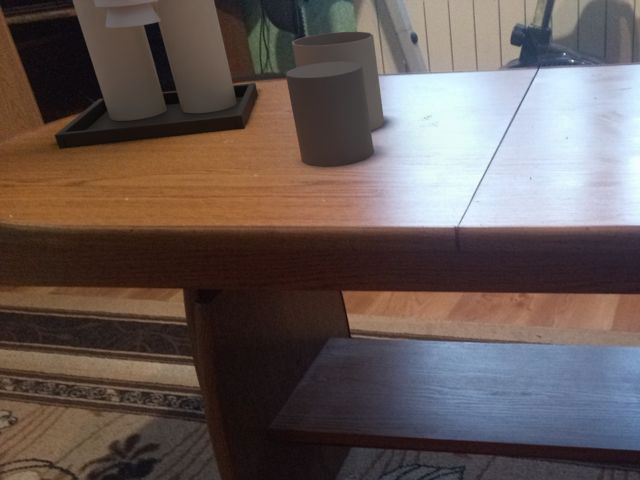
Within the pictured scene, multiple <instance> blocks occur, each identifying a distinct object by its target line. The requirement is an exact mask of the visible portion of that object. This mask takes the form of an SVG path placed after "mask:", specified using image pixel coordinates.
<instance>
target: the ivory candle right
mask: <svg viewBox="0 0 640 480" xmlns="http://www.w3.org/2000/svg"><path fill="white" fill-rule="evenodd" d="M153 7H154V11H155V12H156V14H157V15H158V17H159V18H160V19H161V21H159V22H158V27H159V30H160V33H161V37H162V42H163V45H164V48H165V52H166V56H167V59H168V64H169V67H170V71H171V75H172V79H173V82H174V86H175V91H177V94H178V98H179V101H180V105H181V109H182V111H183V112H185V113H208V112H215V111H220V110H224V109H228V108H230V107H233V106H235V105H236V104H237V101H236V96H235V92H234V87H233V85H234V84H233V83H234V82H233V79H232V74H231V70H230V65H229V61H228V57H227V56H228V55H227V52H226V48H225V44H224V39H223V35H222V30H221V25H220V21H219V17H218V12H217V8H216V3H215V0H159V1H158V2H155V3H153Z"/></svg>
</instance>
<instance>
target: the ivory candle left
mask: <svg viewBox="0 0 640 480" xmlns="http://www.w3.org/2000/svg"><path fill="white" fill-rule="evenodd" d="M72 3H73V7H74V10H75V13H76V17H77V19H78V22H79V25H80V29H81V32H82V34H83V38H84V41H85V44H86V47H87V50H88V53H89V57H90V59H91V63H92V66H93V69H94V72H95V73H94V74H95V76H96V79H97V81H98V82H97V83H98V86H99V88H100V92H101V95H102V97H103V98H104V101H105V104H106V107H107V110H108V114H109V117H110V119H111V120H115V121H132V120H140V119H145V118H150V117H154V116H157V115H160V114H162V113H164V112H166V111H167V108H166V104H165V101H164V97H163V94H162V92H163V90H162V87H161V83H160V79H159V76H158V72H157V68H156V64H155V61H154V58H153V54H152V50H151V47H150V43H149V40H148V36H147V33H146V28H145V25H139V26H131V27H119V28H108V27H106V17H107V8H96V7H95V4H94V0H72Z"/></svg>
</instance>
